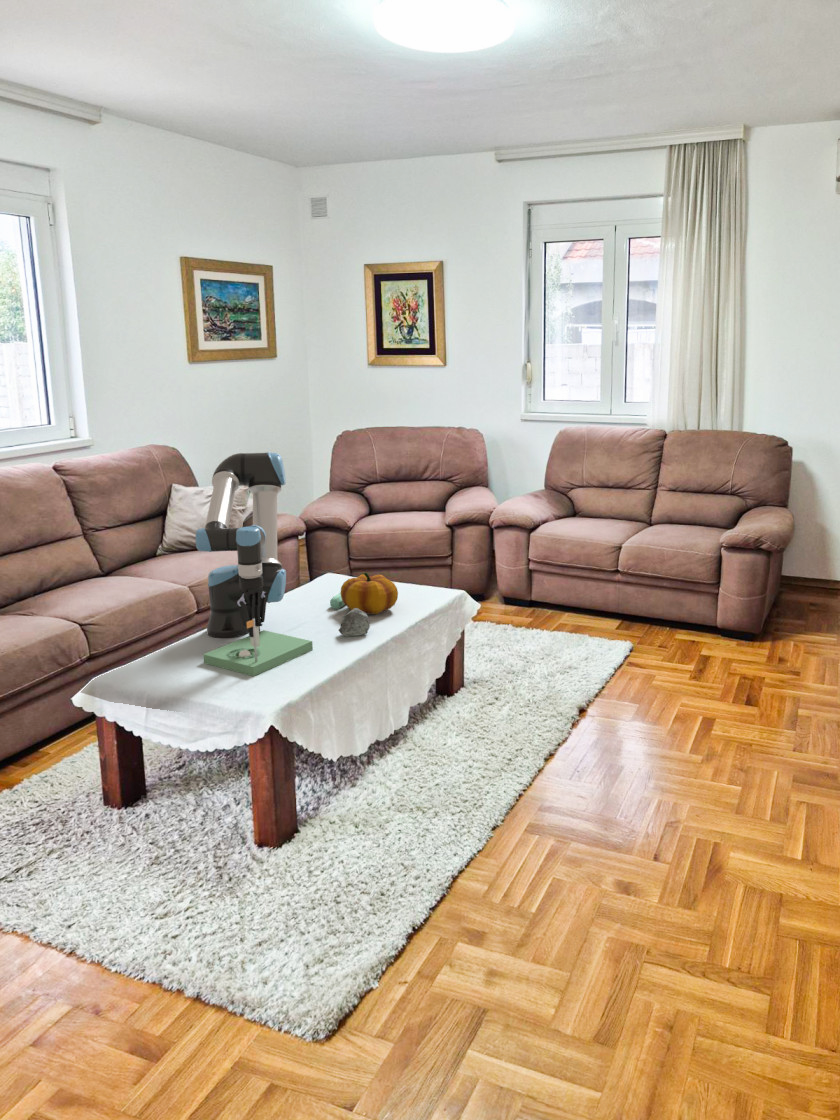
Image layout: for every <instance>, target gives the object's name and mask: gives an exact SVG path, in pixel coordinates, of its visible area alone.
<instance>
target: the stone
mask: <svg viewBox="0 0 840 1120" xmlns="http://www.w3.org/2000/svg"><path fill="white" fill-rule="evenodd" d="M369 621H370V619H369V615H368V613H365V612H363V611H361V610H360V609H358V608H354V609H353V610H351V609H350V611H348V612H347V613H346V614H345V615H344V616H343V618H342V619H341V622H340V628H338V632H339V633H340V635H341V636H344V637H354V636H363V635H365V634H366V635H367V634H368V631H369V629H370V622H369Z"/></svg>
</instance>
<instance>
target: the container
mask: <svg viewBox="0 0 840 1120" xmlns="http://www.w3.org/2000/svg"><path fill="white" fill-rule="evenodd" d="M329 601H330V602H329V603H330V604H329V605H330V607H331V608H332V609H336V610H339V609H340V608H343V606H346V605H345V604H344V602H343V600H342V598H341V593H340V592H339V593H338V594H336V595H335V596H333V597H332V598H331V599H330V600H329Z"/></svg>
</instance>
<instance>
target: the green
mask: <svg viewBox="0 0 840 1120" xmlns="http://www.w3.org/2000/svg"><path fill="white" fill-rule="evenodd" d="M250 627H253V635H254V646H251V642H250V637H249V635H248V636H245V637H243V638H241V639H237V640H236V641H235V640H234V641H233V642H231V643H227V644H225V645H223V646H221V647H218V648H216V649H214V650H213V649H212V650H210V651H208V652H205V653H203V654H202V655H203V656H202V658H203V664H207V665H209V666H214V667H218V668H222V669H225V670H229V671H233V672H238V673H240V674H244V675H247V676H253V677H255V676H257V675H259V674H262V673H264V672H266V671H269V670H271V669H273V668H275V667H277V666H279V665H283V664H284V663H286V662H289V661H291V660H293V659H295V658H298V657H300V656H302V655H304V654H306V653H308V652H311V651H313V648H314V647H313V640H309V639H305V638H301V637H300V638H299V637H296V636H292V635H287V634H281V633H278V632H273V631H269V630H265V629H263V630H260V635H259V638H260V646H258V647H257V646H256V630H255V619H252V620H251V621H248V622H247V629H248V628H250ZM242 650H248V651H249V652H250V653H251V655H250V656H246V657H239V653H240V652H241V651H242Z"/></svg>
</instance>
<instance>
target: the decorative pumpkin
mask: <svg viewBox="0 0 840 1120" xmlns="http://www.w3.org/2000/svg"><path fill="white" fill-rule="evenodd" d="M339 593H341V598H342V600H343V602H344V604H345V605H344V606H346V607H347V608H348V609H349V610H350V611H351V610H353V609H354V608H358V609H360V610H361V611H363V612H365V613H366V614H370V615H378V614H380V613H382V612H384V611H387V610H390V609H391V608H393V607H394V606H395V604H396V602H397V601H398V597H399V592H398V588H397V586H396V584H395V583H394V582H393V581H392V580H390V579H388V578H386V577H385V576H384V575H382V574H375V575H372V576H371V575H369V574H368V573H367V572H366V571H365V572H364V573H363V574H360V575H359V576H357V577H352V578H348V579H347V580H346V581H344V582H343V584H342V585H341V587H340V592H339Z"/></svg>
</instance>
